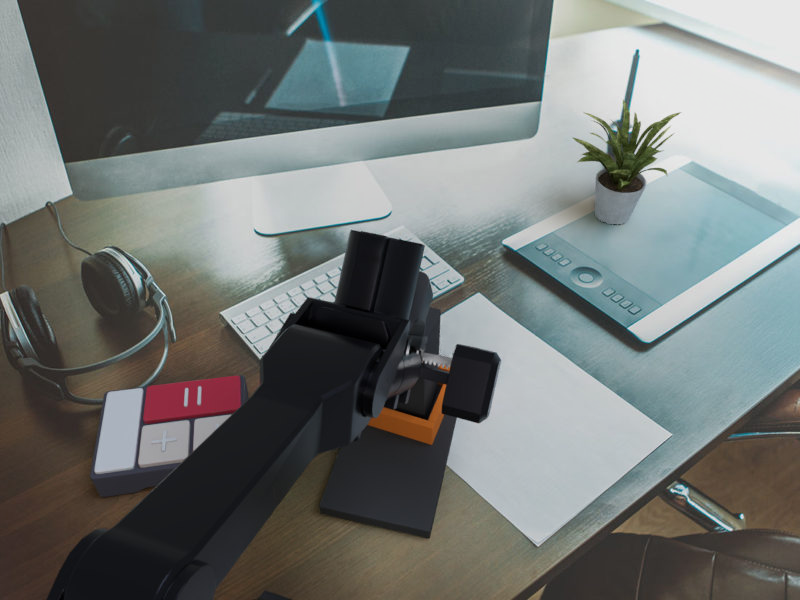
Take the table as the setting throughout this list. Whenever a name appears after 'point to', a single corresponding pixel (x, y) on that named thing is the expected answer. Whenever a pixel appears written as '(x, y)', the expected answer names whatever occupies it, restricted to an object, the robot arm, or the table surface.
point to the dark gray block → (425, 389)
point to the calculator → (158, 429)
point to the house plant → (623, 167)
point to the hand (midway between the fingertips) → (412, 359)
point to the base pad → (393, 471)
